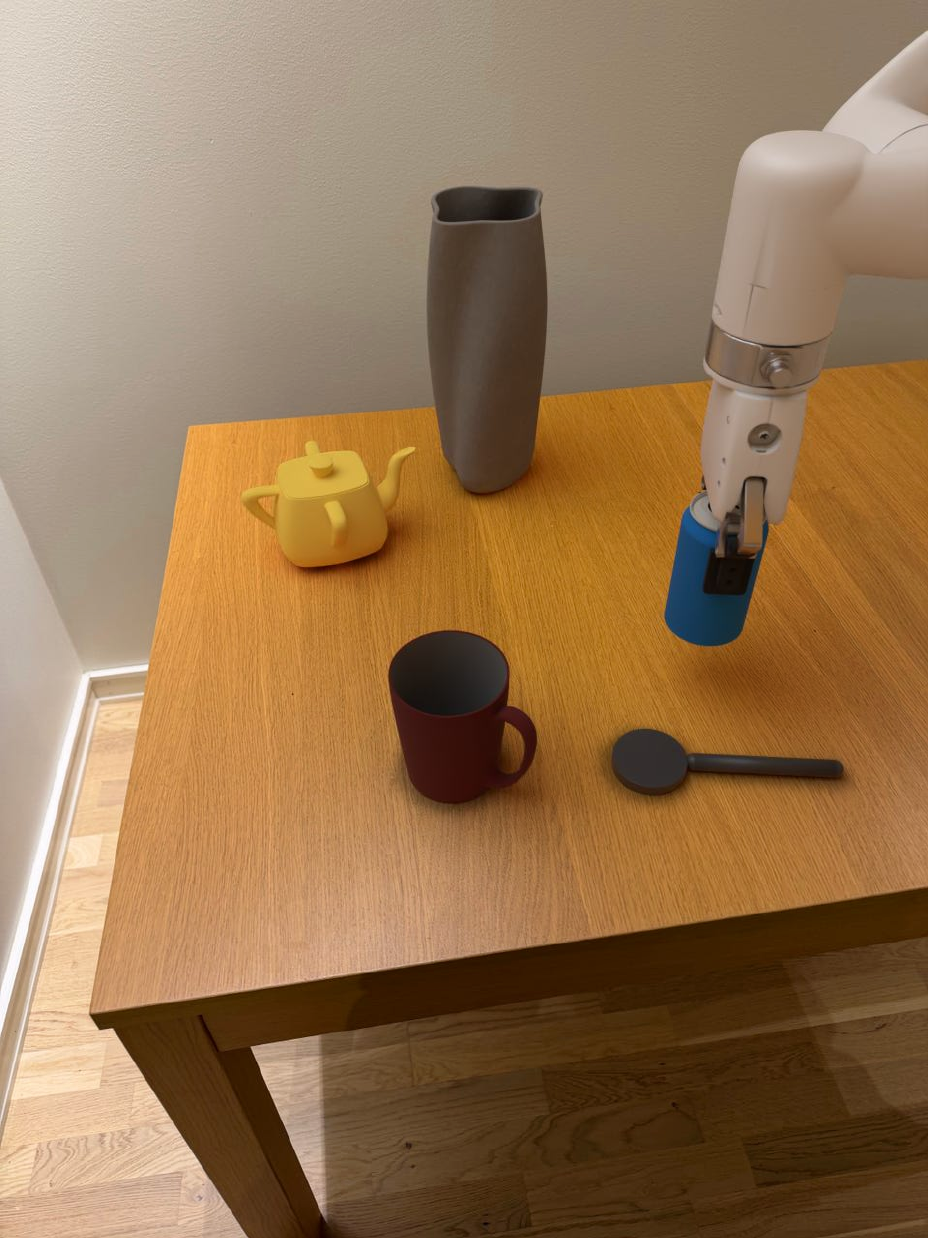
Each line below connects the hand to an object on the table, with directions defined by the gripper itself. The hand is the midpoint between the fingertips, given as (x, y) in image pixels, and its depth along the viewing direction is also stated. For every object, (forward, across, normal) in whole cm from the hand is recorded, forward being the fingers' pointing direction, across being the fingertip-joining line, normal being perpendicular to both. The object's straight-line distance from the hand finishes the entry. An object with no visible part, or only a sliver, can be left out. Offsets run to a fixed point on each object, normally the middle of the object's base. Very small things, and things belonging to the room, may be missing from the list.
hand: (717, 560), depth 70 cm
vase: (+14, +32, +20) cm, 40 cm away
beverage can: (+7, 0, 0) cm, 7 cm away
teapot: (+14, +18, +35) cm, 42 cm away
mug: (+14, -12, +19) cm, 26 cm away
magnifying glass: (+13, -10, -1) cm, 17 cm away
